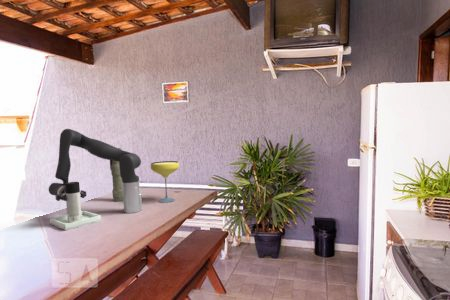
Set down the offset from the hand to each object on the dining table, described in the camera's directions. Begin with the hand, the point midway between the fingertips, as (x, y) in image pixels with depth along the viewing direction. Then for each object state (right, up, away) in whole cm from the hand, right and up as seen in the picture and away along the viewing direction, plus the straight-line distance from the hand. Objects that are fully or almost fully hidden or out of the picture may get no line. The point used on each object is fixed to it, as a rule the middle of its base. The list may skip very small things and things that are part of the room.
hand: (74, 197), depth 160 cm
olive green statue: (+6, -10, +51) cm, 52 cm away
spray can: (-1, -13, +2) cm, 13 cm away
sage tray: (-1, -13, +2) cm, 14 cm away
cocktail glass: (+39, -9, +45) cm, 60 cm away
